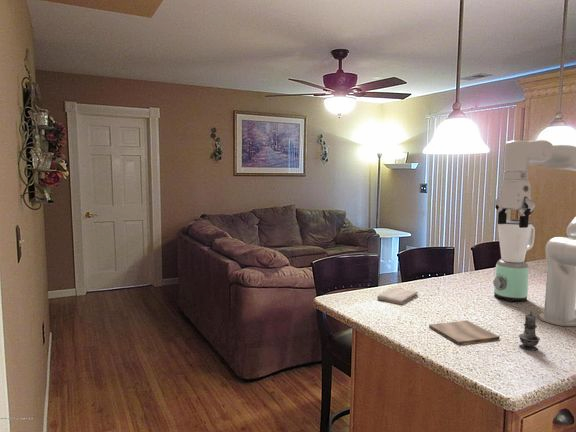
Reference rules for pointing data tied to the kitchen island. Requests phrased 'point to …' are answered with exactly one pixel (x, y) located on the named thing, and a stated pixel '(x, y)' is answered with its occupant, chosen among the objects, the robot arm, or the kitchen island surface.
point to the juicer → (513, 261)
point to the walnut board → (463, 332)
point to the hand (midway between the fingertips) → (512, 225)
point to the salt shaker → (529, 334)
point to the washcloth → (397, 295)
